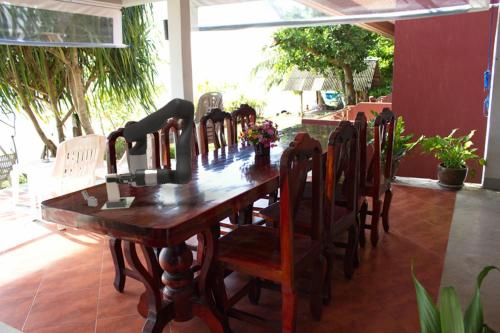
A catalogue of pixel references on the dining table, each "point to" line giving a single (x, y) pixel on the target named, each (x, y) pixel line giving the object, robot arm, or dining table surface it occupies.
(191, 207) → the dining table surface
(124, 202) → the board
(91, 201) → the lighter
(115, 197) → the cream rectangular pillar
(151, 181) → the robot arm
